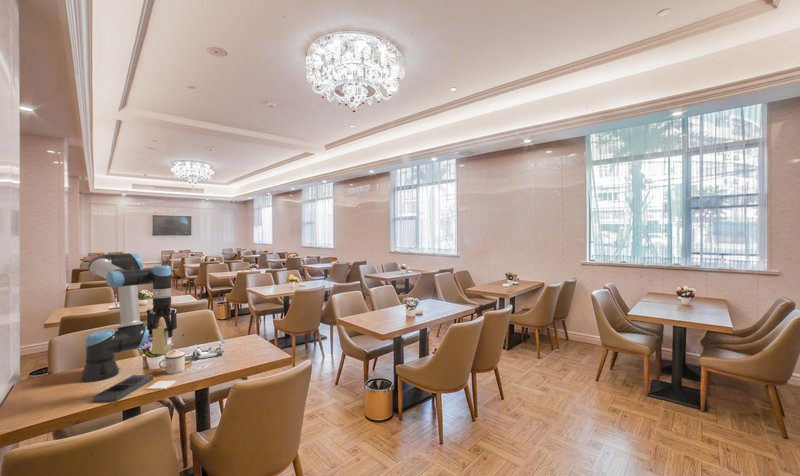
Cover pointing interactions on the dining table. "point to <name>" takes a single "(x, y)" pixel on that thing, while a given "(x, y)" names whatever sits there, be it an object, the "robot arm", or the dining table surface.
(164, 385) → the mat
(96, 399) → the dark grey tray
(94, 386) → the dining table surface
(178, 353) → the teacup with lid
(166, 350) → the brass block
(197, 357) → the silver irregular piece
